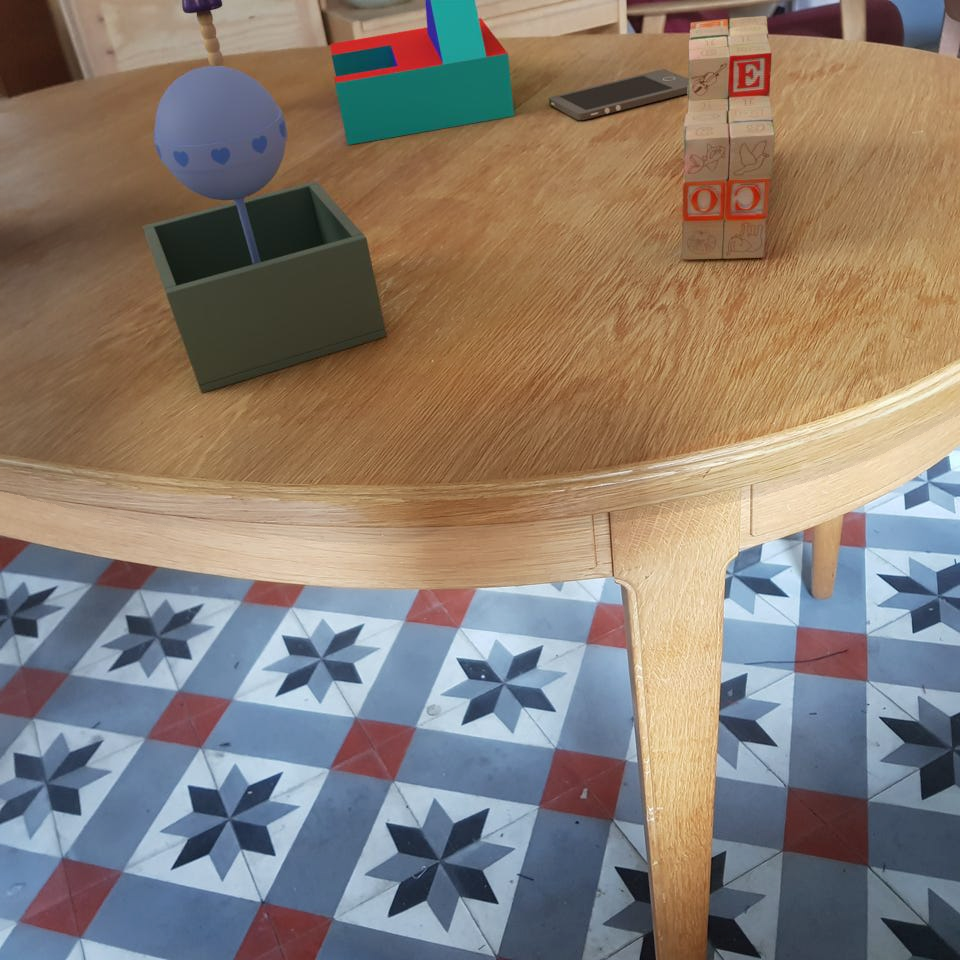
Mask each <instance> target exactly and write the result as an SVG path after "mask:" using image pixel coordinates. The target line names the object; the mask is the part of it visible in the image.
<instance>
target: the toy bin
mask: <svg viewBox="0 0 960 960" xmlns="http://www.w3.org/2000/svg"><path fill="white" fill-rule="evenodd" d="M244 202H245V206H246V209H247V214H248V217H249V221H250V224H251V229H252V231H253V236H254V239H255V243H256V246H257V250H258V253H259V258H260V261H261V262H260V263H257V264H253V263H252V258H251V255H250V251H249V248H248V244H247V241H246V237H245V234H244V229H243V227H242V222H241V220H240V215H239V212H238V208H237V205H236V202H235V201H233V202H230V203H225V204H221V205H217V206H214V207H211V208H206V209H203V210H198V211H195V212H191V213H187V214H183V215H179V216H175V217H172V218H167V219H164V220H160V221H156V222H153V223H148V224H145V225H142V229H143V232H144V235H145V238H146V241H147V244H148V246H149V250H150V253H151V255H152V259H153V261H154V263H155V266H156V269H157V272H158V275H159V278H160V281H161V284H162V287H163V290H164V292H165V295H166V298H167V301H168V304H169V306H170V309H171V312H172V315H173V317H174V320H175V324H176V326H177V329H178V331H179V335H180V338H181V340H182V343H183V346H184V349H185V351H186V354H187V356H188V360H189V362H190V366H191V368H192V371H193V374H194V377H195V380H196V383H197V385H198V387H199V391H200V393H201V394H203V393H207V392H210V391H213V390H217V389H220V388H223V387H227V386H230V385H233V384H236V383H239V382H243V381H245V380H249V379H252V378H255V377H259V376H262V375H265V374H269V373H271V372H275V371H279V370H282V369H285V368H288V367H293V366H294V365H297V364H302V363H305V362H307V361H311V360H314V359H316V358H317V359H318V358H320V357H324V356H327V355H331V354H334V353H337V352H340V351H343V350H347V349H350V348H353V347H356V346H360V345H363V344H366V343H369V342H373V341H376V340H379V339H382V338H386V337H387V336H388V335H387V329H386V325H385V320H384V316H383V311H382V306H381V300H380V297H379V292H378V291H379V290H378V286H377V282H376V277H375V273H374V272H375V271H374V267H373V263H372V257H371V253H370V248H369V243H368V238H367V237H366V235H365V234H364V232H362V230H360V229H359V227H358V226H357V225H356V224H355V223H354V222H353V221H352V220H351V218H350V217H349V216H348V215H347V213H346V212H344V210H342V208H341V207H340V206H339V205H338V204H337V203H336V202H335V200H334V199H333V198H332V197H331V196H330V195H329V194H328V192H327V191H326V190H325V189H324V188H323V187H322V186H321V185H320V184H319V182H318V181H317V180H313V181H309V182H306V183H302V184H298V185H294V186H291V187H287V188H283V189H279V190H275V191H271V192H268V193H264V194H260V195H256V196H252V197H249V198H245V199H244Z"/></svg>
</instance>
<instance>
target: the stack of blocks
mask: <svg viewBox="0 0 960 960" xmlns="http://www.w3.org/2000/svg"><path fill="white" fill-rule="evenodd" d="M772 53H773V52H772V49H771V44H770V42H769V29H768V17H767V16H766V15H758V16H757V15H756V16H745V17H744V16H743V17H730V18H729V19H728V18H727V19H726V18H724V19H713V20H703V21H702V20H701V21H693V22H690V29H689V40H688V78H689V80H688V90H687V93H686V95H687V96H686V98H687V100H686V103H687V104H686V107H687V108H686V113H685V116H684V126H683V156H684V157H683V161H684V162H683V163H684V170H683V171H684V172H683V179H682V180H683V181H682V201H681V202H682V203H681V204H682V206H681V207H682V208H681V209H682V210H681V211H682V212H681V220H682V221H681V225H682V226H681V227H682V233H681V234H682V235H681V236H682V237H681V239H682V242H681V243H682V244H681V247H682V248H681V259H682V260H716V259H717V260H718V259H719V260H720V259H758V258H759V259H760V258H764V257H765V251H766V239H767V221H768V217H769V205H770V203H769V202H770V187H771V178H772V176H773V167H774V155H775V154H774V152H775V138H776V137H775V135H776V134H775V127H774V116H773V110H772V103H771V99H770V96H771V95H770V94H771V75H772V73H771V72H772Z"/></svg>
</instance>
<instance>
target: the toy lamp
mask: <svg viewBox="0 0 960 960" xmlns="http://www.w3.org/2000/svg"><path fill="white" fill-rule="evenodd" d="M181 5H182V10H183V13H185V14H196V18H197V21H198V23H199V25H200V29H199V30H200V34H201V36H202V38H203V46H204V48H205V51H206V53H207V60H208V63H209V65H210V66H222V67H226V65H225V64H224V56H223V54H222V51H221V49H220V48H221V47H220V46H221V45H220V41H219V39H218V37H217V30H216V29H217V28H216V26H215V24H214V23H213V20H214V17H213V14H212V13H213V12H212V11H213V10H216V9H220V8H221V7H222V6H223V0H181Z"/></svg>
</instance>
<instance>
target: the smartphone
mask: <svg viewBox="0 0 960 960" xmlns="http://www.w3.org/2000/svg"><path fill="white" fill-rule="evenodd" d="M688 80H689V77H686V76H683V75H680V74H678V73H675V72H673V71H670V70H667V69H665V68H664V69H663V68H662V69H658V70H654V71H649V72H645V73H641V74H638V75H637V74H636V75H633V76H629V77H626V78H622V79H621V78H620V79H616V80H613V81H609V82H605V83H601V84H597V85H594V86H589V87H585V88H581V89H577V90H576V89H575V90H573V91H569V92H565V93H561V94H557V95H553V96H550V97H549V98H548V103H549V104H548V105H549V106H551V107H553V108H555V109H557V110H558V111H561V112H562V113H563V114H565V115H567V116H569V117H572V118H573V119H575V120H577V121H584V120H589V119H593V118H597V117H600V116H604V115H608V114H612V113H616V112H619V111H624V110H627V109H628V110H629V109H631V108H636V107H639V106H645V105H646V104H647V105H648V104H651V103H655V102H658V101H663V100H666V99H670V98H674V97H678V96H683V95H687V90H688Z"/></svg>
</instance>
